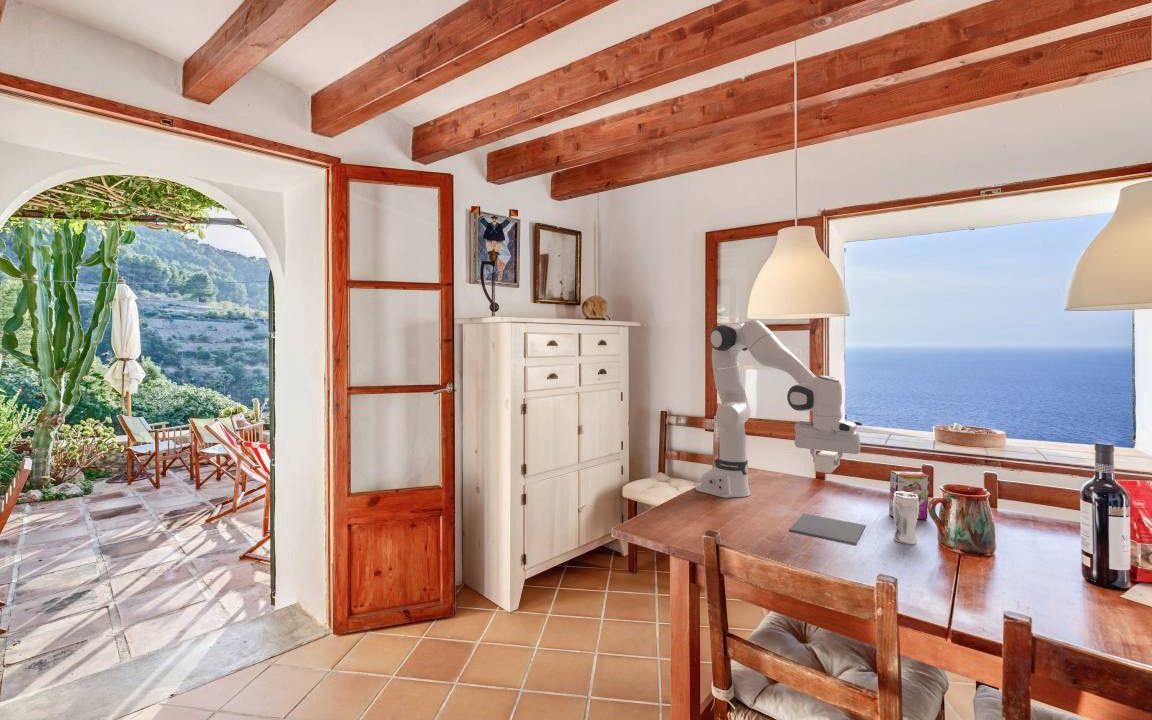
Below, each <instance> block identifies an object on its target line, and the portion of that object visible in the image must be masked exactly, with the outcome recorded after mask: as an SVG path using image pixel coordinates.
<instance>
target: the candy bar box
mask: <svg viewBox="0 0 1152 720" xmlns="http://www.w3.org/2000/svg"><path fill="white" fill-rule="evenodd" d="M889 479H890V483H889V501H888V502H889V504H888V505H889V507H888V515H889V516H891V517H892V518H893V519H894V514H893V499H894V493H895V492H908V493H912V494H916V495H917V496H918V501H919V514H918V519H923V520H924V521H927V520H928V511H927V508H928V509H929V506H928V505H929V486H930V485H929V484H930V475H929V474H927V473H924V472H922V471H896V470H895V471H894V470H891V471H890V478H889ZM926 519H927V520H926ZM923 520H922V521H923Z"/></svg>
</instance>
